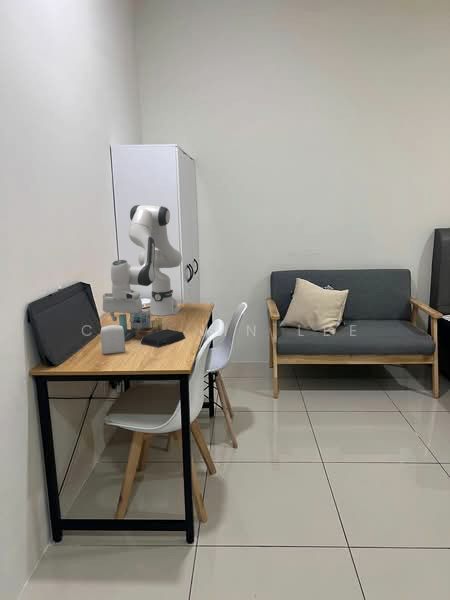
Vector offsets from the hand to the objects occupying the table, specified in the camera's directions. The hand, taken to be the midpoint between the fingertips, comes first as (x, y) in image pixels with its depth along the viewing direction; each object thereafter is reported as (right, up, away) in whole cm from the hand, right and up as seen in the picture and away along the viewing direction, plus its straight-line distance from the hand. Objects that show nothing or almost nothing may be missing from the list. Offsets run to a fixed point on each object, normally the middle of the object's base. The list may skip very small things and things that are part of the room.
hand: (123, 321), depth 226 cm
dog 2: (+16, -6, +12) cm, 21 cm away
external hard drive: (+21, -10, -5) cm, 24 cm away
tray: (0, -8, +2) cm, 8 cm away
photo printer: (+1, -13, -22) cm, 26 cm away
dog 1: (+15, -7, +7) cm, 18 cm away
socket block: (+11, -8, +1) cm, 14 cm away
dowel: (0, -8, +1) cm, 8 cm away
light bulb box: (+6, -6, +13) cm, 16 cm away
